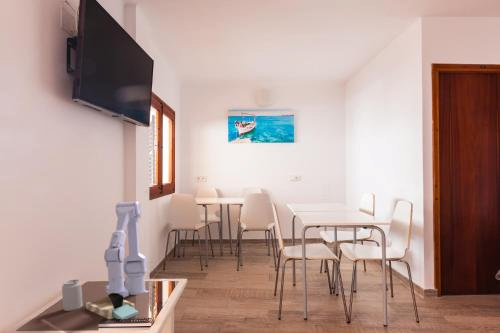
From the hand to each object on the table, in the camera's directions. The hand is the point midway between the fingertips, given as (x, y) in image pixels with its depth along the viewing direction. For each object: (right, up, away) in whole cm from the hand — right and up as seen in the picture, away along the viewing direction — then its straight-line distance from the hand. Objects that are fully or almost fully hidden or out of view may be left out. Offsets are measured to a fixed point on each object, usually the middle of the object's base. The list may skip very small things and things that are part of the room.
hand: (118, 311), depth 143 cm
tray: (-5, -2, +4) cm, 7 cm away
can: (-23, -3, +10) cm, 25 cm away
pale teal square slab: (+4, -1, -3) cm, 5 cm away
